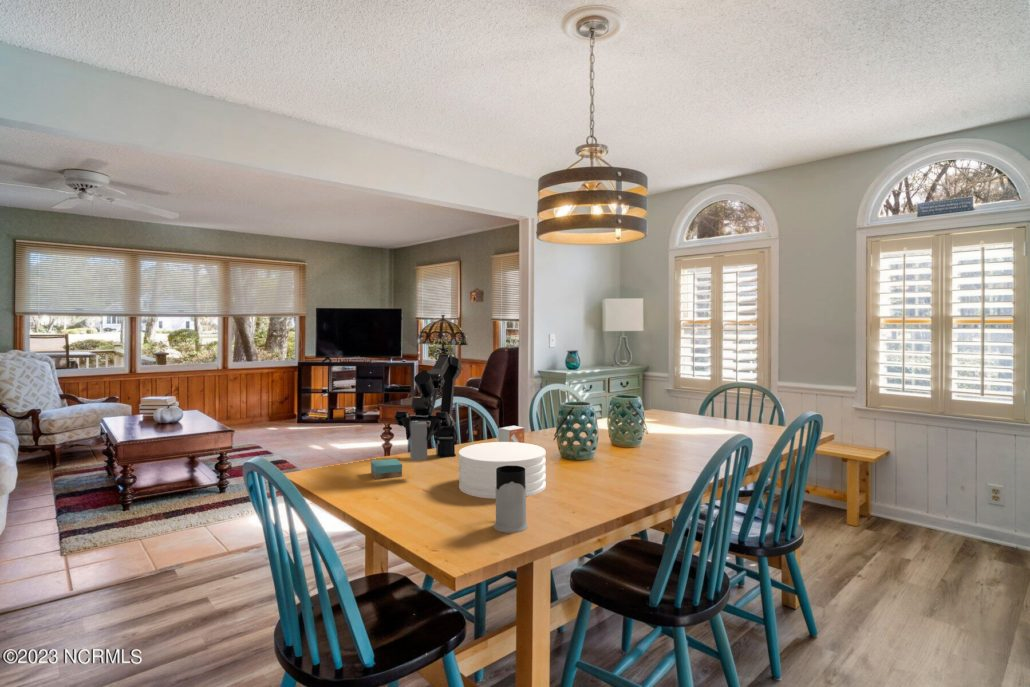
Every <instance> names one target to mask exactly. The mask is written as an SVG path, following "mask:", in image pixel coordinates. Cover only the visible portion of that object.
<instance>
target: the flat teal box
mask: <svg viewBox="0 0 1030 687" xmlns="http://www.w3.org/2000/svg"><path fill="white" fill-rule="evenodd" d="M370 473H371V475H372V477H373V479H374V480H385V478H386V479H392V478H394V477H395V478H402V477H403V470H402V471H399V472H390V473H380V474H375V473H374V471H373V470H372V469H371V468H370ZM395 478H394V479H395Z"/></svg>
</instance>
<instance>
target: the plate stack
mask: <svg viewBox="0 0 1030 687" xmlns="http://www.w3.org/2000/svg"><path fill="white" fill-rule="evenodd" d="M546 452H547V451H546V449H545V448H544V447H542V446H540V445H536V444H532V443H525V442H524V443H519V442H498V441H495V442H494V441H491V442H482V443H475V444H471V445H467V446H464V447H462V448H461V449H459V450H458V457H459V458H458V481H459V483H458V488H459V490H460V492H462V493H464V494H467V495H468V496H472V497H476V498H477V497H478V498H480V499H481V498H482V499H492V500H493V499H494V500H496V469H497V468H498V467H501V466H521V467H524V468H525V486H526V497H530V496H534V495H537V494H539V493H541V492H543V491H544V490H545V489H546V486H547V484H546V483H547V482H546V479H547V475H546V471H547V469H546V468H547V467H546V461H547V460H546V455H547V454H546Z"/></svg>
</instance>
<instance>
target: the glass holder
mask: <svg viewBox="0 0 1030 687" xmlns="http://www.w3.org/2000/svg"><path fill="white" fill-rule="evenodd" d="M493 528H494V530H496V531H498V532H500V533H506V534H507V533H509V534H514V533H515V534H516V533H522V532H524V531H526V530H528V528H529V526H528V523H527V496H526V486H525V468H524V467H521V466H501V467H498V468H497V469H496V499H495V523H494V525H493Z"/></svg>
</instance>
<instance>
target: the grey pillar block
mask: <svg viewBox="0 0 1030 687" xmlns="http://www.w3.org/2000/svg"><path fill="white" fill-rule="evenodd" d="M427 425H428V424H427V422H425V421H420V422H418V421H412V422H410V437H409V448H410V450H409V451H410V452H409V453H410V455H409V458H410V459H411V461H422V460H428V441H427V439H426V438H427V433H428V426H427Z"/></svg>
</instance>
